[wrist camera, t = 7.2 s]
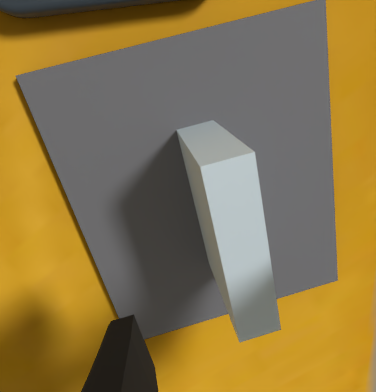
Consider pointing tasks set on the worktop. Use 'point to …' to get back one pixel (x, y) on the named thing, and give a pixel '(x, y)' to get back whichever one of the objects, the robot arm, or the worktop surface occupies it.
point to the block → (232, 225)
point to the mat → (174, 163)
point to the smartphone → (64, 6)
